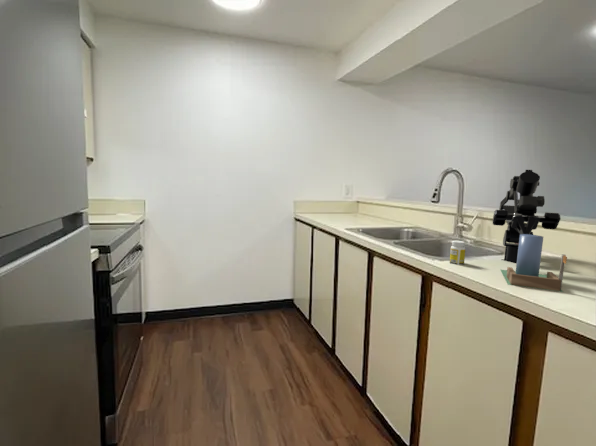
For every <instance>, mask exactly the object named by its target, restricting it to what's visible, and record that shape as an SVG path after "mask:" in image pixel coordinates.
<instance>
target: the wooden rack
mask: <svg viewBox="0 0 596 446" xmlns="http://www.w3.org/2000/svg"><path fill="white" fill-rule="evenodd" d="M567 259H568V256H566V254H561V258H560V267H559V273H558V274H559V275H558V276H557V275H556V274H555V273H554V272H552V271H547V272H546V273H547V274H546V275H547V278H545V277H536V276H528V275H520V274H516V273H515V271H516V270H514V269H513V267H511V266H510V267H509V266H508V267H507V269H506V270H507V278H508V280H509V282H510V284H511V285H510V286H514V285H517V286H516V287H521V286H524V287H523V288H529V287H532V288H531V289H536V288H540V289H539V290H544V289H547V290H546V291H551V290H555V291H554V292H559V291H561V290H562V287H563V286H562V284H563V278H564V270H565V265H566V264H567Z"/></svg>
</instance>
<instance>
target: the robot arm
mask: <svg viewBox="0 0 596 446" xmlns="http://www.w3.org/2000/svg"><path fill="white" fill-rule="evenodd" d="M540 178H541V176H540V175H539V174H538V173H537V172H534V171H533V169H525V171H524V172H522V173H521V174H520V175H514V176H513V177H512V178H511V179H510V183H509V188H510V189H509V190H507V191H506V196H505V197H504V198H503V199H502V200H501V201H500V203H499V209H495V210H494V211H493V216H492V225H493V226H502V227H503V226H504V225H505V224H506V225H507V227H506V229H505V231H504V235H503V238H502V245H503V246H504V248H505V249H504V259H501V261H504V262H508V263H511V264H512V263H513V264H517V256H518V247H519V244H515V243H519V238H520V234H530V235H534V232H533V231H534V230H537V228H538V225H539V223H541V227H542V228H543V229H545V230H556V229H557V228H558V225H559V224H560V222H561V214H559V213H558V212H547V211H546V212H544V215H536V214H537V211H538V208H539V207H540V208H543V207H544V205H545V195H538V196H534V194H535V193H536V191H537V188H538V186H540V180H541V179H540ZM509 201H513V203H514V204H513V205H509V204H507V203H508V202H509ZM506 204H507V205H506ZM537 207H538V208H537Z"/></svg>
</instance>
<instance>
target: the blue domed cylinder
mask: <svg viewBox="0 0 596 446" xmlns="http://www.w3.org/2000/svg"><path fill="white" fill-rule="evenodd" d="M543 242H544V236H542V235H537V234H533V235H530V234H520V238H519V247H518V256H517V264H516V263H515V264H516V265H515V271H516V274H520V275H528V276H536V277H539V274H540V269H541V262H542V261H541V260H542V252H543Z"/></svg>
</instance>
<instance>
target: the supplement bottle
mask: <svg viewBox="0 0 596 446" xmlns="http://www.w3.org/2000/svg"><path fill="white" fill-rule="evenodd" d="M465 244H466V243H465V241H462V240H452V242H451V246H450V253H449V254H450V255H449V264H450V265H459V266H460V265H461V266H462V265H465V259H466V247H465Z"/></svg>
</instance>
